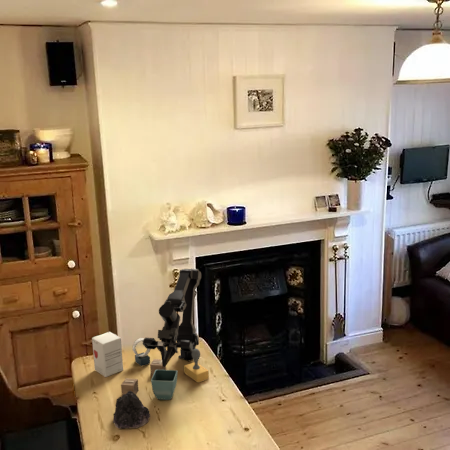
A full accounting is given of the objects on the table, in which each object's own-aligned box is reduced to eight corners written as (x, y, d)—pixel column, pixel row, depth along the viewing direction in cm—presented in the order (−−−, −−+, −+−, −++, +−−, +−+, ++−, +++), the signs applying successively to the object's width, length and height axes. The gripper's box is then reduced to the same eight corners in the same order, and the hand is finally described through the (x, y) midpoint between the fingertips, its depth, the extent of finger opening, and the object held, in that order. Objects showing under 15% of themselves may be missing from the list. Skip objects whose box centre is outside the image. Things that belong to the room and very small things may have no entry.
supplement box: (93, 370, 241) (91, 337, 237) (112, 363, 247) (109, 330, 243) (105, 377, 234) (102, 344, 231) (123, 370, 240) (121, 337, 237)
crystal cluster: (138, 436, 196) (139, 409, 194) (103, 426, 200) (104, 400, 198) (155, 418, 208) (157, 392, 206) (123, 408, 213) (124, 384, 211)
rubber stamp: (209, 378, 232) (208, 351, 229) (197, 383, 228) (196, 355, 226) (195, 369, 240) (194, 342, 237) (184, 373, 236) (182, 346, 233)
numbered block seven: (154, 369, 240) (154, 358, 239) (166, 370, 239) (165, 359, 238) (150, 375, 235) (150, 364, 234) (162, 376, 234) (161, 365, 233)
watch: (154, 362, 246) (152, 338, 244) (137, 367, 242) (135, 343, 239) (148, 357, 251) (146, 334, 248) (131, 362, 246) (129, 339, 244)
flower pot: (178, 390, 223) (177, 369, 221) (174, 403, 214) (173, 381, 212) (156, 390, 224) (155, 369, 222) (151, 402, 215) (150, 380, 213)
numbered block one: (126, 389, 225) (125, 377, 224) (138, 390, 224) (137, 378, 223) (121, 396, 220) (120, 384, 219) (134, 397, 219) (133, 385, 218)
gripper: (142, 318, 219) (134, 357, 211) (189, 320, 215) (183, 361, 207) (150, 328, 228) (142, 367, 220) (195, 331, 225) (189, 370, 217)
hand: (164, 366), depth 216 cm, fingers closed
